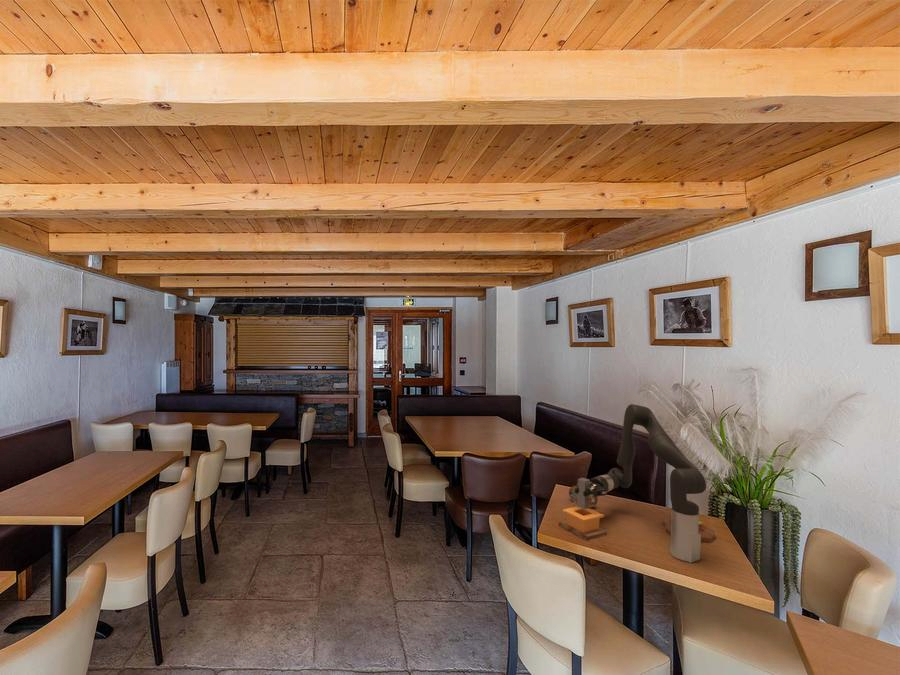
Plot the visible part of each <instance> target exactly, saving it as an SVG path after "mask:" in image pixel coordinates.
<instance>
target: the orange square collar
mask: <svg viewBox="0 0 900 675" xmlns="http://www.w3.org/2000/svg"><path fill="white" fill-rule="evenodd" d="M562 512H563V513H565V514H566V519H565V520H566V524H567V525H569V526H571V527H573V528H575V529H577V530H579V531H581V532H583V533H585V532H588V531H592V530H596V529H599V527H600V520H601V518H605V515H604V514H602V513H601V512H598V511H596V510H593V509H591V508H587V509H585V510H584V509H581V508H579V507H577V506H573V507H567V508H564V509H562Z"/></svg>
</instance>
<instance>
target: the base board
mask: <svg viewBox="0 0 900 675" xmlns="http://www.w3.org/2000/svg"><path fill="white" fill-rule="evenodd" d="M566 520H567V519H565V520H560V521H559V522H558V525H559V526H560V527H562V528H563V529H565V530H567V531H569V532H571V533H573V534H575V535H576V534H577V536H578V535H579V536H578V537H580V536H581V537H580V538H582V537H583V538H582V539H584V538H585V539H584V540H586V539H587V540H586V541H589V540H588V539H590V540H592V538H593V539H596V538H595V537H597V538H600V537H603V535H604V536H607V535H608V530H606V529H604V528H602V527H600V526H599V529H596V530H592V531H588V532H585V533H583V532H581V531H579V530H577V529H575V528H573V527H571V526H569V525H567V524H566ZM599 536H600V537H599Z"/></svg>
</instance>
